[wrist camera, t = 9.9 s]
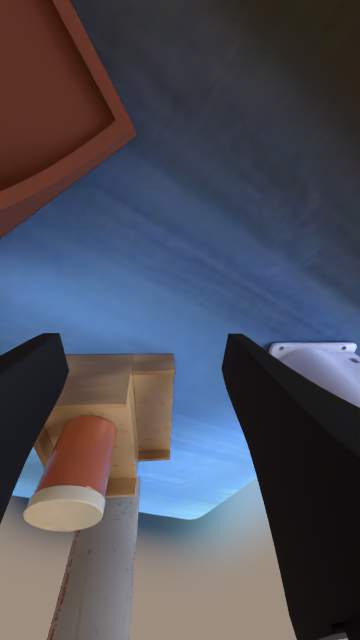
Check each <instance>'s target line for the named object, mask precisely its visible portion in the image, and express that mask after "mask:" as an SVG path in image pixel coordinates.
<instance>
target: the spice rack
mask: <svg viewBox="0 0 360 640" xmlns="http://www.w3.org/2000/svg"><path fill="white" fill-rule="evenodd" d="M65 356H66V360H67V364H68V368H69V373H68V376H67V379H66V382H65V385H64V387H63V390H62V393H61V395H60V397H59V399H58V400H57V402H56V404H55V406H54V408H53V410H52V412H51V414H50V416H49V418H48V419H47V421H46V423H45V425H44V427H43V429H42V431H41V433H40V434H39V436H38V438H37V440H36V442H35V444H34V448H35V450H36V452H37V454H38V456H39V458H40V460H41V462H42V464H43V466H44V468H45V467H46V465H47V462H48V460H49V458H50V455H51V453H52V451H53V449H54V446H55V444H56V442H57V440H58V437H59V435H60V433H61V430H62V428H63V426H64V424H65V423H66V422H67V421H69V420H70V419H72V418H74V417H78V416H83V415H93V416H99V417H102V418H105V419H107V420H109V421H110V422H111V423H113V424H114V426H115V427H116V430H117V437H116V442H115V447H114V452H113V458H112V463H111V468H110V474H109V479H108V484H107V489H106V495H105V498H114V497H127V496H135V491H136V480H137V468H138V461H156V460H170V438H171V420H172V402H173V384H174V374H175V361H174V354H82V355H65Z"/></svg>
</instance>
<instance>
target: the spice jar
mask: <svg viewBox="0 0 360 640" xmlns="http://www.w3.org/2000/svg"><path fill="white" fill-rule="evenodd" d="M116 437H117V430H116V427H115V426H114V424H113V423H111V422H110V421H109V420H107V419H105V418H102V417H99V416H93V415H83V416H78V417H74V418H72V419H70V420H69V421H67V422H66V423H65V424H64V426H63V428H62V430H61V433H60V435H59V437H58V440H57V442H56V444H55V446H54V449H53V451H52V453H51V455H50V458H49V460H48V462H47V465H46V467H45V469H44V471H43V474H42V476H41V478H40V481H39V483H38V485H37V487H36V490H35V492H34V494H33V495H32V496H31V497H30V499H29V502H28V504H27V506H26V508H25V511H24V515H23V516H24V519H25V520H26V521H27V522H28V523H29V524H31V525H33V526H35V527H38V528H42V529H45V530H51V531H74V530H81V529H85V528H88V527H91V526H93V525H95V524H97V523H98V522H100V520H101V519H102V517H103V513H104V508H105V495H106V489H107V484H108V479H109V474H110V468H111V463H112V458H113V452H114V447H115V442H116Z"/></svg>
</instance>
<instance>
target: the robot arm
mask: <svg viewBox="0 0 360 640" xmlns="http://www.w3.org/2000/svg"><path fill="white" fill-rule="evenodd" d="M280 347H281V348H280ZM356 347H357V345H356V344H354V343H352V342H348V343H274V344H272V345H271V347H270V350H269V353H268V352H267V351H266V350H264V349H263V348H262V347H260V346H259V345H258V344H256V343H255V342H253V341H252V340H251V339H249V338H248V337H246V336H245V335H243V334H228V339H227V344H226V349H225V354H224V359H223V364H222V373H223V377H224V381H225V385H226V389H227V392H228V394H229V397H230V400H231V402H232V405H233V408H234V410H235V413H236V415H237V418H238V420H239V423H240V426H241V428H242V431H243V433H244V436H245V439H246V441H247V444H248V447H249V450H250V454H251V457H252V461H253V464H254V468H255V471H256V475H257V479H258V482H259V486H260V490H261V494H262V497H263V501H264V505H265V509H266V513H267V517H268V521H269V525H270V529H271V534H272V538H273V542H274V546H275V551H276V555H277V560H278V564H279V569H280V573H281V578H282V582H283V587H284V592H285V597H286V601H287V606H288V611H289V615H290V619H291V622H292V625H293V629H294V631H295V635H296V638H297V640H338V639H344V638H348V640H360V357H359V356H357V355H356V354H355V353H354V351H355V349H356ZM68 373H69V368H68V364H67V360H66V356H65V353H64V349H63V345H62V342H61V338H60V334H59V333H43V334H41V335H39V336H36V337H34V338H32V339H31V340H29V341H27V342H25V343H23V344H21V345H19V346H17V347H16V348H14V349H12V350H10V351H8V352H6V353H5V354H3V355H1V356H0V523H1V521H2V518H3V516H4V513H5V511H6V508H7V505H8V503H9V500H10V498H11V495H12V493H13V490H14V488H15V486H16V483H17V481H18V479H19V476H20V474H21V471H22V469H23V467H24V464H25V462H26V460H27V458H28V456H29V454H30V452H31V450H32V448H33V446H34V444H35V442H36V440H37V438H38V436H39V434H40V433H41V431H42V429H43V427H44V425H45V423H46V421H47V419H48V418H49V416H50V414H51V412H52V410H53V408H54V406H55V404H56V402H57V400H58V399H59V397H60V395H61V393H62V390H63V387H64V385H65V382H66V379H67V376H68Z"/></svg>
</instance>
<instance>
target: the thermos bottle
mask: <svg viewBox="0 0 360 640" xmlns="http://www.w3.org/2000/svg"><path fill="white" fill-rule="evenodd" d="M140 482H141V481H140V478H139V476H138V475H137V480H136V491H135V496H127V497H114V498H105V508H104V513H103V517H102V519H101V520H100V522H98V523H97V524H95V525H93V526H91V527H88V528H85V529H81V530H76V531H75V535H74V539H73V543H72V547H71V550H70V555H69V558H68V562H67V566H66V570H65V574H64V578H63V582H62V585H61V590H60V593H59V597H58V601H57V605H56V609H55V612H54V616H53V620H52V623H51V627H50V631H49V634H48V638H47V640H129V634H130V620H131V607H132V593H133V571H134V569H133V568H134V554H135V546H136V536H137V524H138V510H139V497H140Z"/></svg>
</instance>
